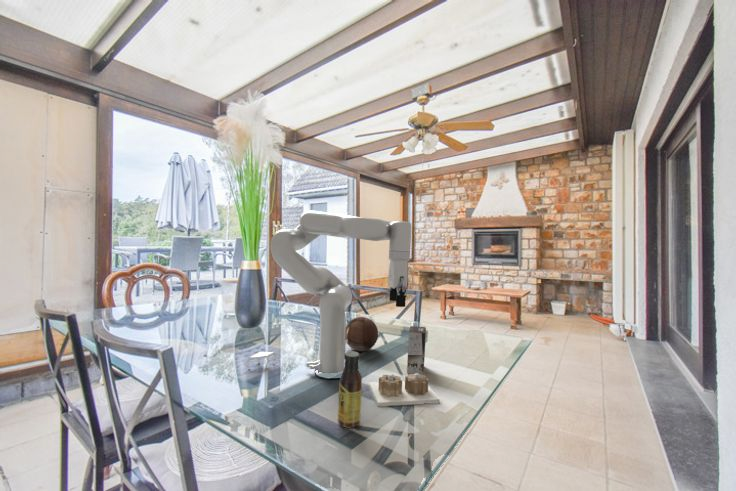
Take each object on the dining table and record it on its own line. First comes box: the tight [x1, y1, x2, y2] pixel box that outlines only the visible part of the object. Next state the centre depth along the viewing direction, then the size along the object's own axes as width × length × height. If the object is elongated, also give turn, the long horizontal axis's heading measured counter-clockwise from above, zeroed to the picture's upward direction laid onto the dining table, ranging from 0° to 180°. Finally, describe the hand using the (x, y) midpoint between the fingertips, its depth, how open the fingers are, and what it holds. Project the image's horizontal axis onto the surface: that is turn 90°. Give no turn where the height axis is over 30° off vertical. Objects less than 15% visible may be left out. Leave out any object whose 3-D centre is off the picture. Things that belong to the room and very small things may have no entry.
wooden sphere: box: [345, 316, 379, 352], centre depth 153 cm, size 15×15×15 cm
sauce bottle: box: [337, 350, 363, 429], centre depth 95 cm, size 7×6×20 cm
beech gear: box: [378, 374, 403, 397], centre depth 112 cm, size 7×7×4 cm
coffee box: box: [406, 325, 427, 376], centre depth 134 cm, size 9×6×16 cm
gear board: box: [368, 373, 440, 407], centre depth 114 cm, size 20×14×7 cm
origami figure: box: [243, 350, 279, 369], centre depth 131 cm, size 12×8×5 cm
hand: (396, 303), depth 123 cm, fingers open, 9 cm apart
